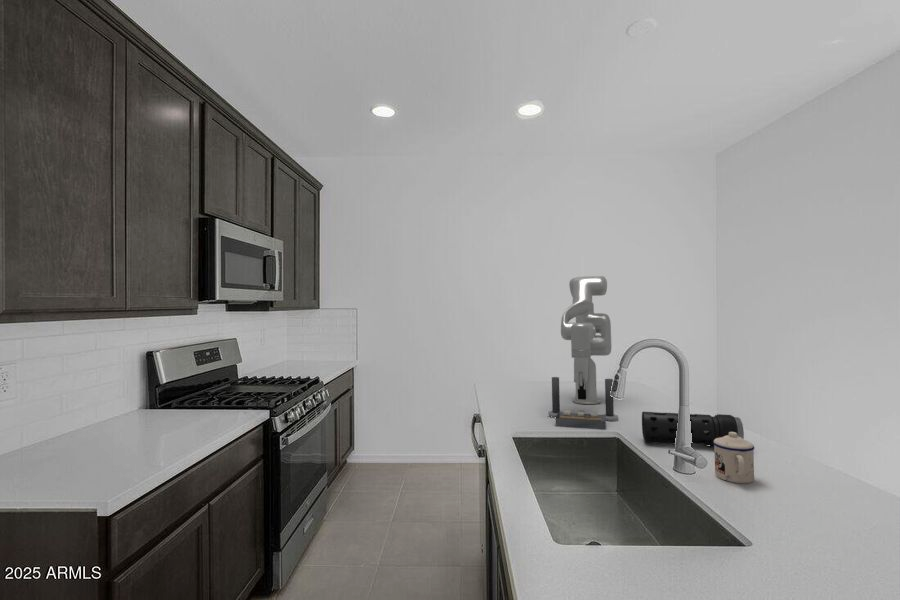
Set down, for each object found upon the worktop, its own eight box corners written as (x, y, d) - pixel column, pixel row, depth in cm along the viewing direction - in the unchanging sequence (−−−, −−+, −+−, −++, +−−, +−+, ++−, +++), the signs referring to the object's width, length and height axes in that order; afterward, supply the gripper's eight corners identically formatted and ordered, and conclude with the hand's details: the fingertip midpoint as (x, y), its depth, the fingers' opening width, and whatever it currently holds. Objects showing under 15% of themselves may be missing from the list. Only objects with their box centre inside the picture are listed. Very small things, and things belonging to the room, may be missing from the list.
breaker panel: (558, 419, 180) (558, 407, 180) (605, 422, 174) (605, 409, 174) (555, 426, 171) (555, 412, 171) (605, 429, 165) (605, 415, 165)
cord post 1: (549, 413, 190) (548, 376, 191) (564, 414, 188) (564, 376, 188) (547, 417, 184) (546, 378, 185) (563, 418, 182) (562, 378, 182)
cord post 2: (601, 417, 183) (600, 377, 184) (618, 418, 181) (617, 378, 181) (601, 420, 177) (600, 380, 177) (618, 421, 175) (617, 380, 175)
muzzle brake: (642, 438, 153) (641, 407, 154) (735, 444, 145) (735, 412, 145) (645, 446, 144) (644, 414, 144) (745, 453, 136) (744, 419, 136)
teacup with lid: (710, 469, 122) (709, 427, 123) (749, 473, 119) (747, 429, 120) (721, 486, 111) (720, 439, 111) (764, 490, 108) (763, 442, 108)
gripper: (572, 352, 191) (573, 395, 191) (570, 355, 177) (571, 402, 177) (591, 352, 189) (592, 396, 188) (589, 356, 175) (591, 403, 174)
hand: (582, 398), depth 183 cm, fingers closed
